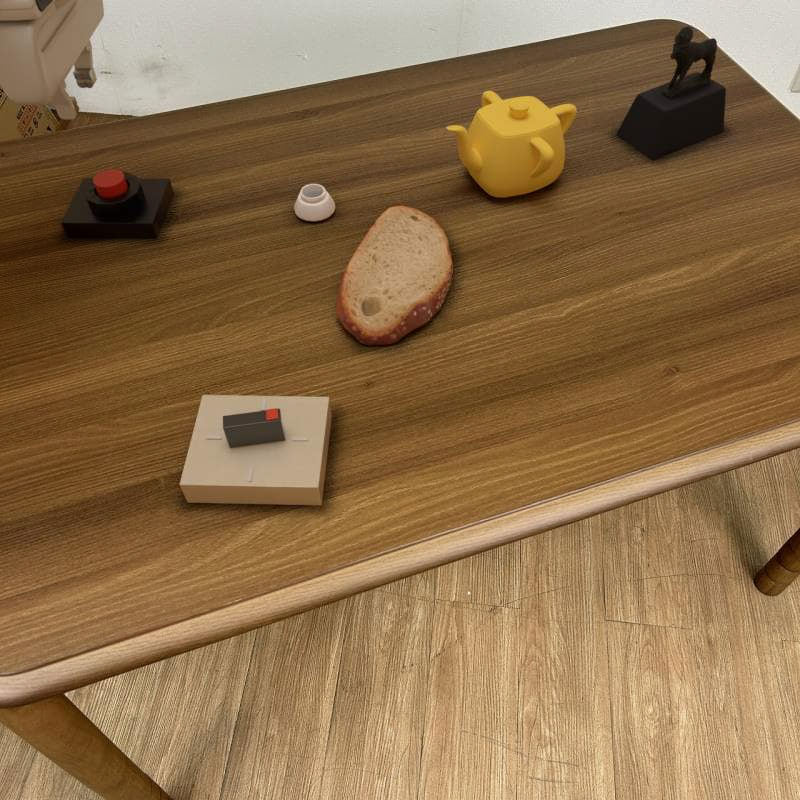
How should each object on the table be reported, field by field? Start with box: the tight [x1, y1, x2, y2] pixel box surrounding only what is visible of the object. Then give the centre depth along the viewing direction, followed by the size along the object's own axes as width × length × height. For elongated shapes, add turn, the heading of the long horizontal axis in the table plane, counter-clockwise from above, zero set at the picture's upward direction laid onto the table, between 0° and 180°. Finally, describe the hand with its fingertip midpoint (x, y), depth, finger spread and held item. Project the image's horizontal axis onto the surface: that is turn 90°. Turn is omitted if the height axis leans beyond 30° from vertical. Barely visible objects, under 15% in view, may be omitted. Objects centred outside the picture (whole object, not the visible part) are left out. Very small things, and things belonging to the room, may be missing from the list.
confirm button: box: [93, 169, 128, 198], centre depth 89 cm, size 4×4×2 cm
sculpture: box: [615, 26, 727, 161], centre depth 96 cm, size 8×13×15 cm, turn 119°
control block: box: [60, 171, 175, 239], centre depth 91 cm, size 11×9×4 cm
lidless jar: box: [293, 183, 336, 222], centre depth 91 cm, size 5×3×5 cm
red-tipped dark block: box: [223, 408, 285, 448], centre depth 65 cm, size 5×1×3 cm, turn 99°
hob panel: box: [179, 394, 333, 506], centre depth 68 cm, size 12×10×3 cm
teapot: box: [445, 90, 578, 198], centre depth 92 cm, size 14×13×10 cm
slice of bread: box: [335, 205, 454, 346], centre depth 83 cm, size 18×18×4 cm
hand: (79, 100), depth 81 cm, fingers open, 5 cm apart
